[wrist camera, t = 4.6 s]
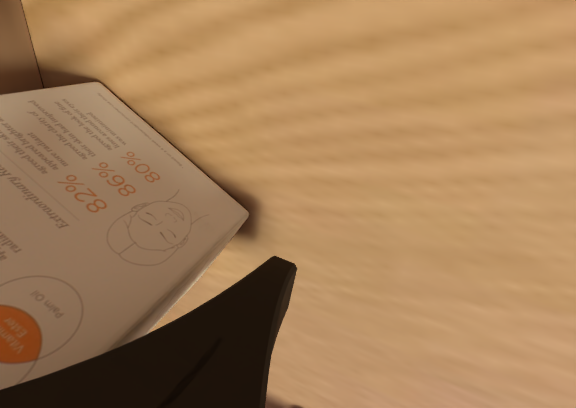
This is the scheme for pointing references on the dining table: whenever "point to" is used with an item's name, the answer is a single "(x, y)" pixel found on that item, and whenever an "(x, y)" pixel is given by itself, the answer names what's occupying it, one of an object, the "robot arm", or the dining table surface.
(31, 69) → the walnut board
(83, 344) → the small box
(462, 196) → the dining table surface
